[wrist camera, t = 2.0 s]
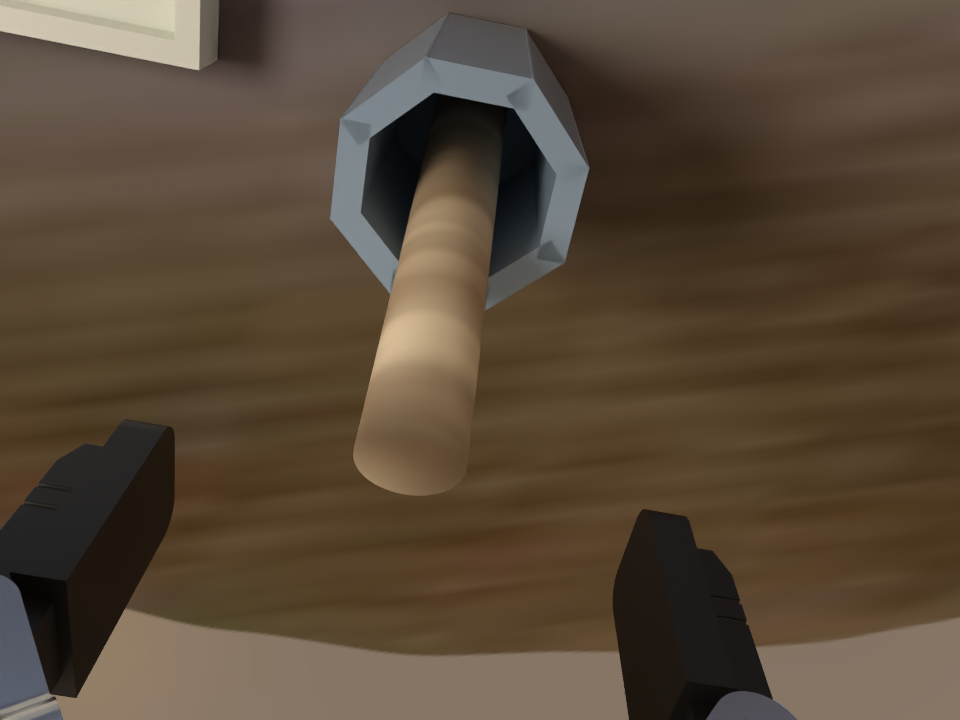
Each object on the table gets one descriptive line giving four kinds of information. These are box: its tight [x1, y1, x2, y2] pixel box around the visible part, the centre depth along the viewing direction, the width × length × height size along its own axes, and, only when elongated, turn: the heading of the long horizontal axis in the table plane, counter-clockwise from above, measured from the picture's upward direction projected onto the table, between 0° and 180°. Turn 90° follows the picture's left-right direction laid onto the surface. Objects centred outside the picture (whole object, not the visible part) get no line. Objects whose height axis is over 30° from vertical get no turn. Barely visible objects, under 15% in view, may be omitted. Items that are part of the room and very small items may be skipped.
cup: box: [330, 13, 590, 310], centre depth 26 cm, size 7×7×9 cm
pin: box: [353, 94, 507, 496], centre depth 23 cm, size 6×2×16 cm, turn 169°
